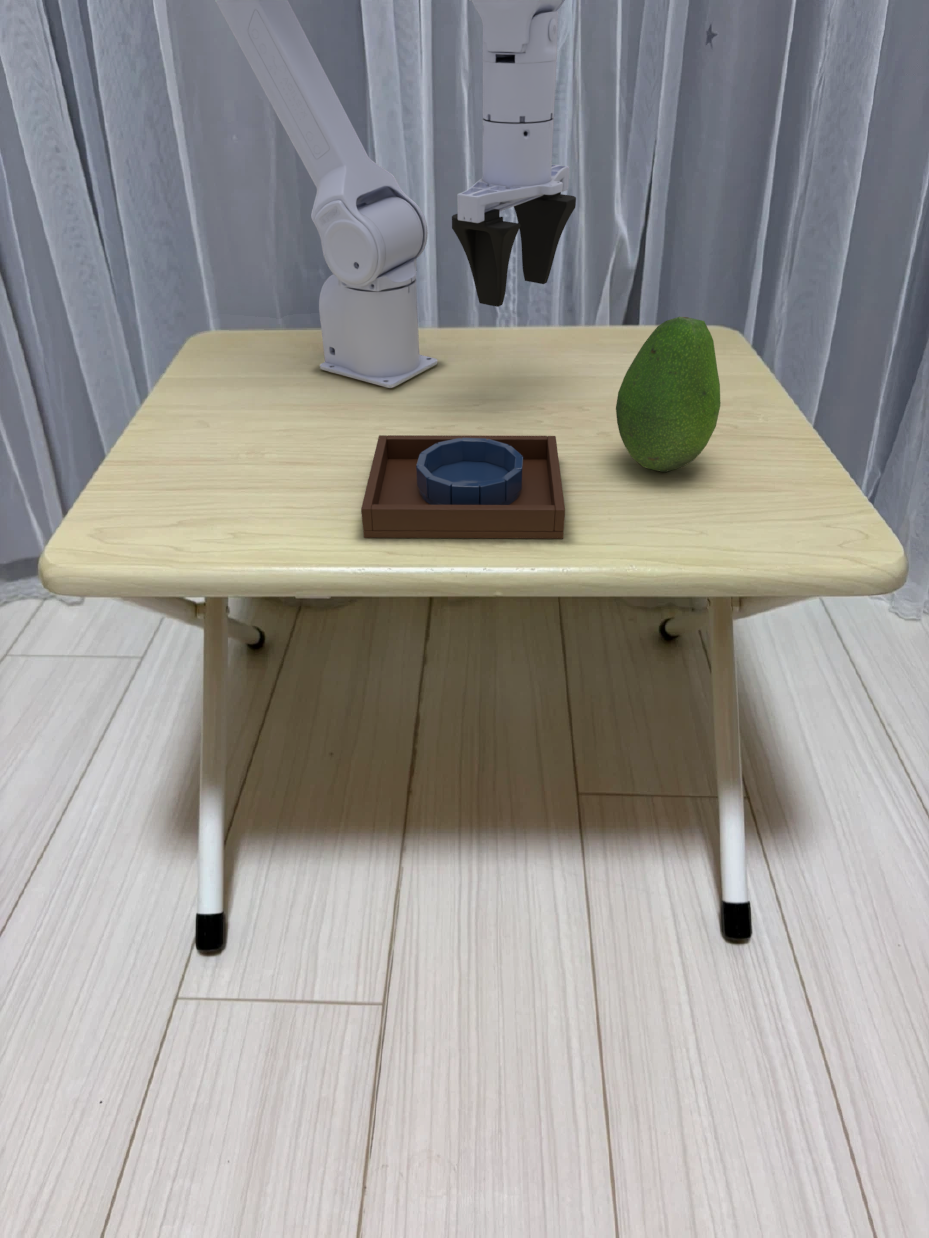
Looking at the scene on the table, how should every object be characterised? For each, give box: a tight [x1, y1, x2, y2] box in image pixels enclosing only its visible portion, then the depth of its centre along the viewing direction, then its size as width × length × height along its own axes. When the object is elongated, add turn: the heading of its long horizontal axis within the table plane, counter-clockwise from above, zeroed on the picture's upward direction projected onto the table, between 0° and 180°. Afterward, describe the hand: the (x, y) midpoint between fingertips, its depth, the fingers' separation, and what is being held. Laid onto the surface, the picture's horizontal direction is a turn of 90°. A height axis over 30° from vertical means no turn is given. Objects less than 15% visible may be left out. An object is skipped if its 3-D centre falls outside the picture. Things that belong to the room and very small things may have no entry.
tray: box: [360, 434, 566, 540], centre depth 66 cm, size 14×12×2 cm
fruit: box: [615, 316, 721, 473], centre depth 67 cm, size 8×8×12 cm
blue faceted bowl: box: [416, 438, 523, 505], centre depth 66 cm, size 8×8×2 cm
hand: (514, 292), depth 77 cm, fingers open, 7 cm apart
